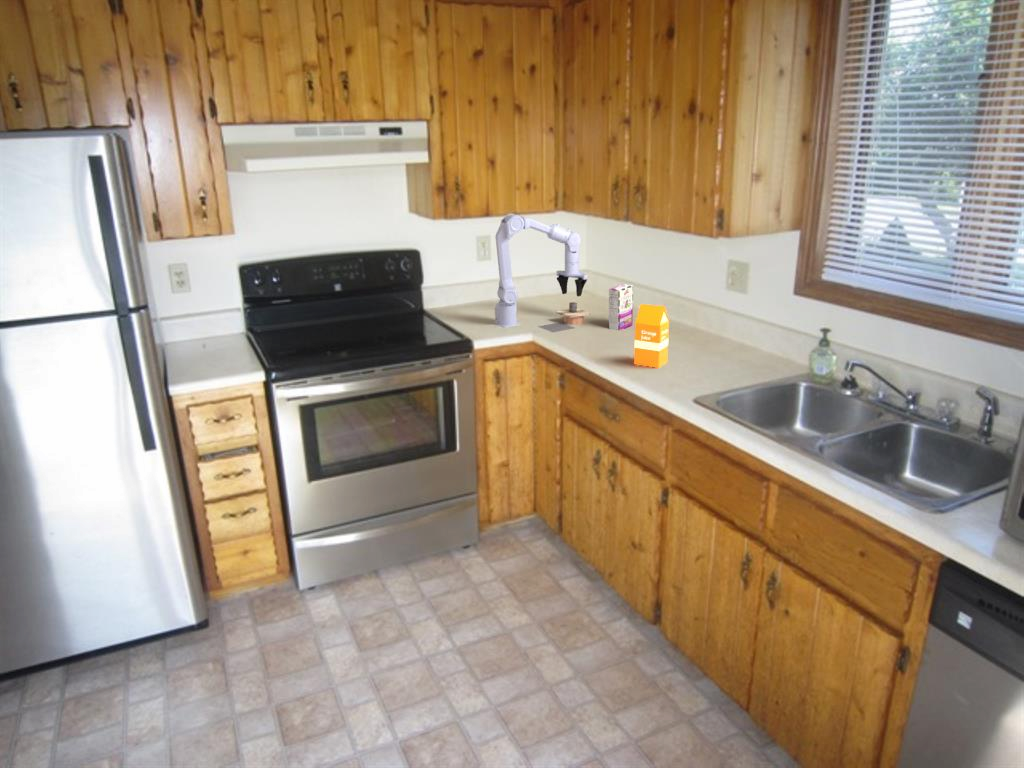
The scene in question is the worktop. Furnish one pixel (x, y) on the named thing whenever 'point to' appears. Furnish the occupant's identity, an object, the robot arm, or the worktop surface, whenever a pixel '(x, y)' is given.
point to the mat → (556, 327)
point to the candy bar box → (620, 307)
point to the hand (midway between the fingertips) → (571, 294)
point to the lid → (573, 311)
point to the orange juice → (651, 336)
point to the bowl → (574, 320)
